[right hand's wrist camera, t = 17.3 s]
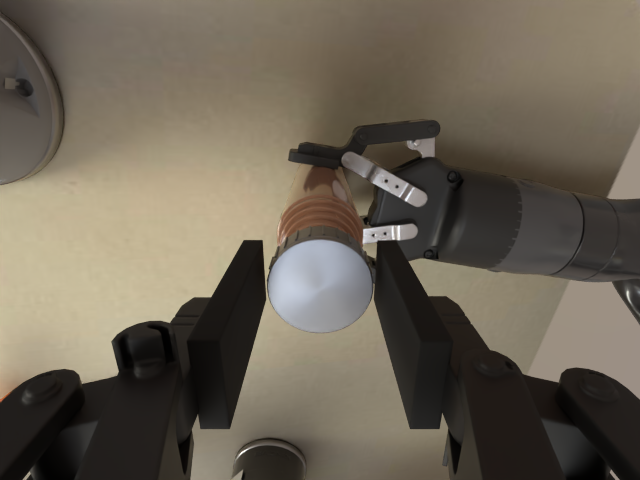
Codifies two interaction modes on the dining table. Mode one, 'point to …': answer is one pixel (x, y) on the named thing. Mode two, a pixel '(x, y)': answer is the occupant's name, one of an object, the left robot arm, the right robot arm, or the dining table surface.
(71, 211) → the dining table surface
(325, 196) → the bottle
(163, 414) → the right robot arm
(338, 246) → the cap
